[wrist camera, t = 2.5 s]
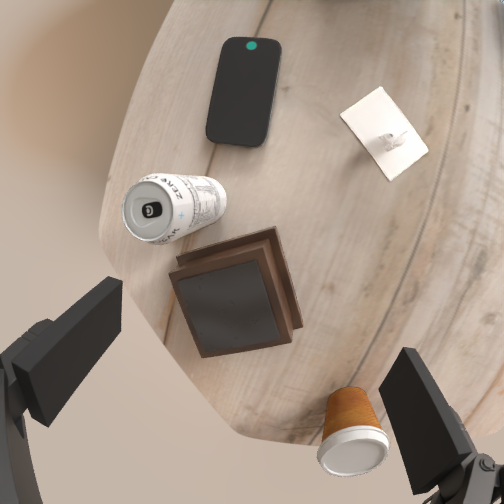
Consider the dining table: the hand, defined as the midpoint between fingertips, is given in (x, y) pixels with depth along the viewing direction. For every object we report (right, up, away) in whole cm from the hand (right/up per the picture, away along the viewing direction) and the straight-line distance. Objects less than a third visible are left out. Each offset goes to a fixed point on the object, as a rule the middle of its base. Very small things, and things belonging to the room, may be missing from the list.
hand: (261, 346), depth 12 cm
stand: (-2, -1, +26) cm, 26 cm away
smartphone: (-1, +24, +20) cm, 32 cm away
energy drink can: (-6, +10, +24) cm, 27 cm away
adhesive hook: (+16, +18, +19) cm, 31 cm away
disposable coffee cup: (+14, -19, +27) cm, 36 cm away
